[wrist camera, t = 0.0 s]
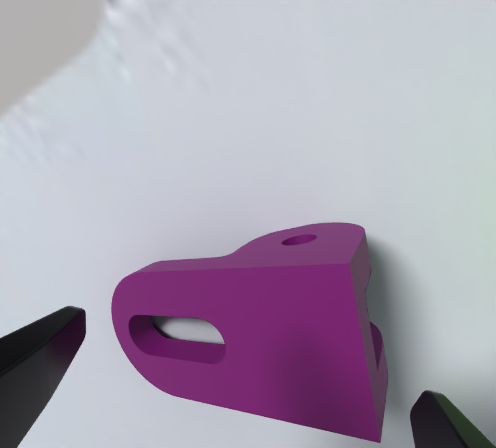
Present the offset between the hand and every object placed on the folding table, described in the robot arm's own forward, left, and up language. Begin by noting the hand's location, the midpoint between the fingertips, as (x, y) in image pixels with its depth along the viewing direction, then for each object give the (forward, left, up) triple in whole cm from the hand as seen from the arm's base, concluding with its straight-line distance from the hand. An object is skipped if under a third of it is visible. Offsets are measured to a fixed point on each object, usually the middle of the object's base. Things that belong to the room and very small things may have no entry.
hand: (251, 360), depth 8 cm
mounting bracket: (-4, -3, -16) cm, 17 cm away
